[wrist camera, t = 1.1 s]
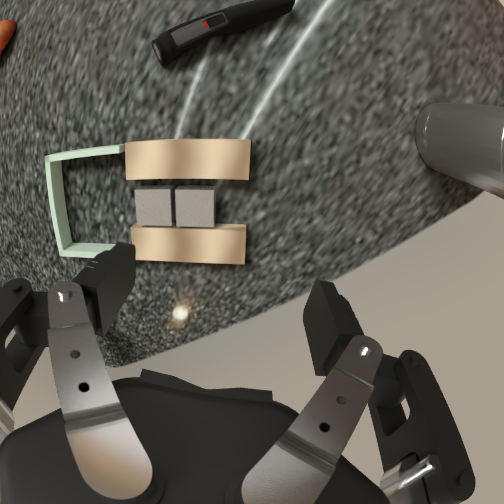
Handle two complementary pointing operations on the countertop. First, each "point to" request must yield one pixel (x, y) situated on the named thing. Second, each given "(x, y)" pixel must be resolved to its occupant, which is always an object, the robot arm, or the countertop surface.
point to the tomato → (6, 32)
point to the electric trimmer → (217, 26)
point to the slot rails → (189, 167)
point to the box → (59, 203)
